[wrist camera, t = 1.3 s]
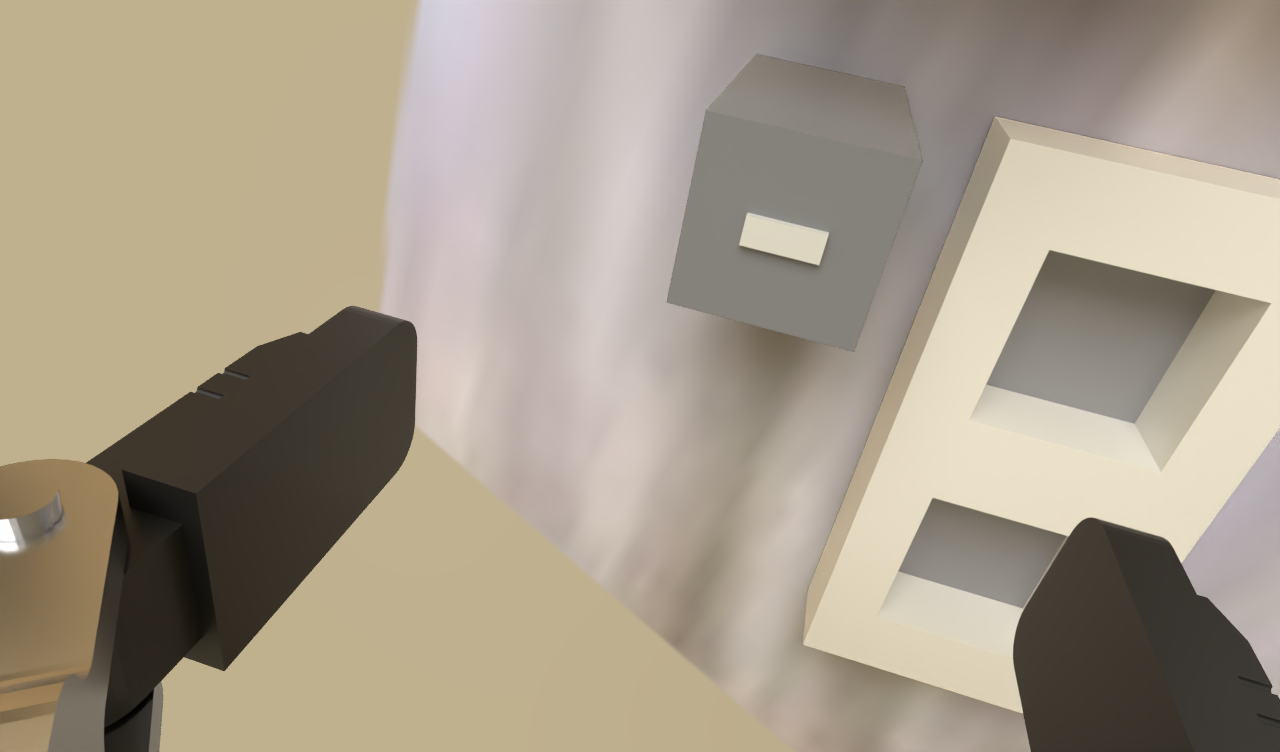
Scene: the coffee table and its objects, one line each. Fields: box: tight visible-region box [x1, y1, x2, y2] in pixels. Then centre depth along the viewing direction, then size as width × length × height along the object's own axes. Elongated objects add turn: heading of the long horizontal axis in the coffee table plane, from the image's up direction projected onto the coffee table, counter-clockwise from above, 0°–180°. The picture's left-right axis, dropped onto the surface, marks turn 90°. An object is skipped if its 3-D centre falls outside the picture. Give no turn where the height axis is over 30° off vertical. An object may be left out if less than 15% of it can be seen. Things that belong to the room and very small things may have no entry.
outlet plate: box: [803, 116, 1280, 714], centre depth 27 cm, size 10×20×3 cm, turn 171°
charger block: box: [667, 54, 922, 352], centre depth 21 cm, size 4×4×9 cm
